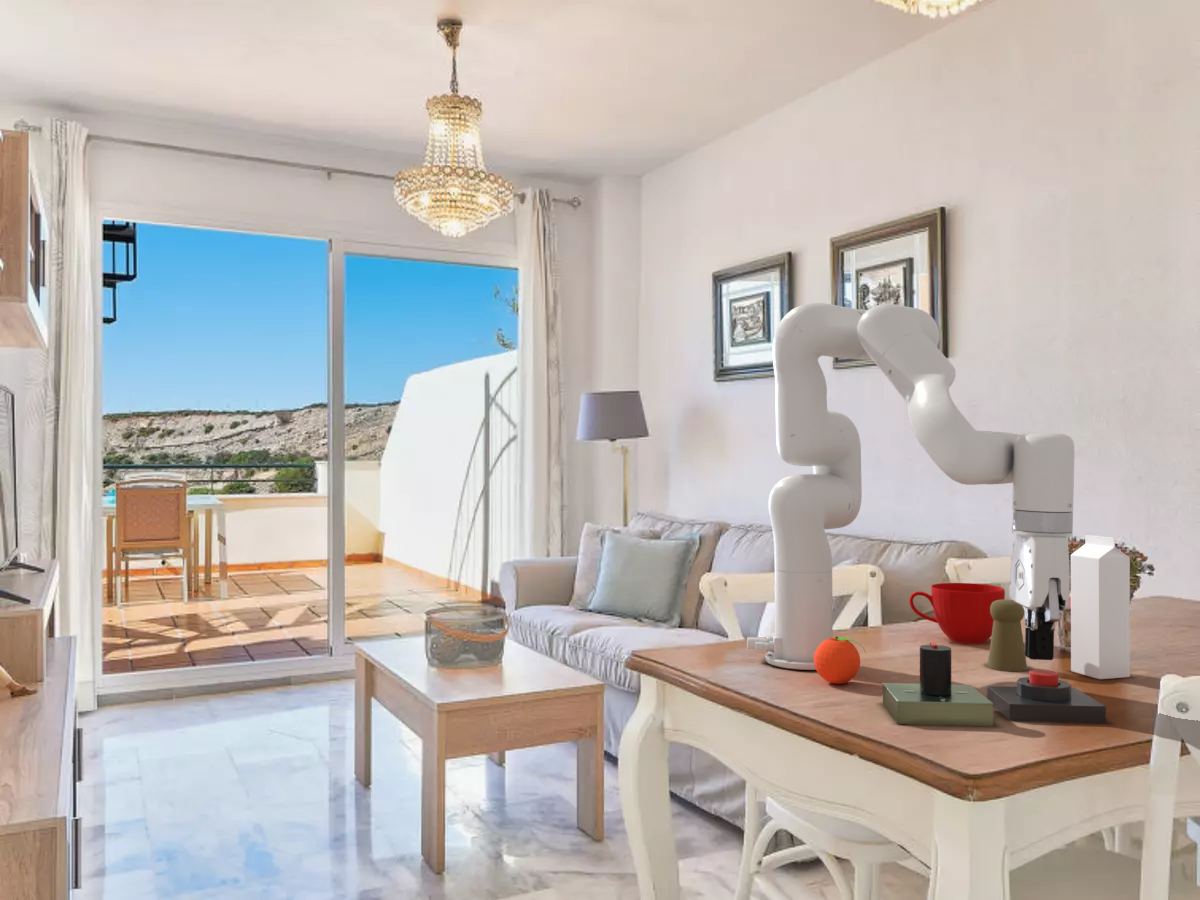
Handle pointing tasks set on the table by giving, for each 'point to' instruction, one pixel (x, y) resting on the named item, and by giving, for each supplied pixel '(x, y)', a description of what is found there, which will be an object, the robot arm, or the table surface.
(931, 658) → the cylinder
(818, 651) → the clementine
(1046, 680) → the button
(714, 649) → the table surface
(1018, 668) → the cork
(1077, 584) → the milk
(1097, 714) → the switch block
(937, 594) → the ceramic cup
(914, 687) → the dial panel
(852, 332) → the robot arm
